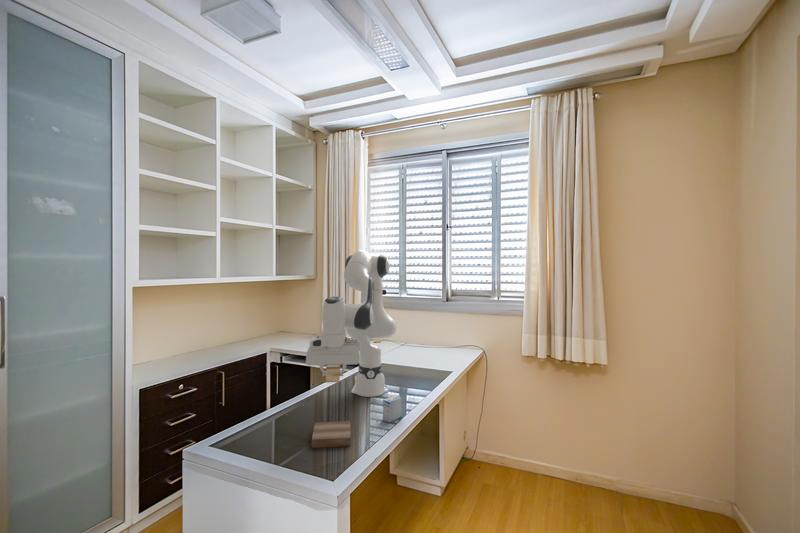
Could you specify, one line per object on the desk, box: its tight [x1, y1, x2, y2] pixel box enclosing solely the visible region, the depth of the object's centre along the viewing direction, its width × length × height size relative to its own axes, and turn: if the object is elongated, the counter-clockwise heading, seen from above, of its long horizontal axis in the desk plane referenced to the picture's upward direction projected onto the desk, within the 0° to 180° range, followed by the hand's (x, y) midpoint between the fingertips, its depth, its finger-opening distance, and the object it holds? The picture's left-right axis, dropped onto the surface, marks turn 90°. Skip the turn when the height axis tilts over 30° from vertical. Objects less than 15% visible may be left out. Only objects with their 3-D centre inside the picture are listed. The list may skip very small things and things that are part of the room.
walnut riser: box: [311, 420, 352, 449], centre depth 143 cm, size 14×14×3 cm
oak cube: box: [325, 365, 341, 384], centre depth 143 cm, size 5×5×5 cm
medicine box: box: [382, 394, 403, 423], centre depth 161 cm, size 8×4×9 cm, turn 141°
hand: (332, 375), depth 143 cm, fingers closed on oak cube, 5 cm apart
